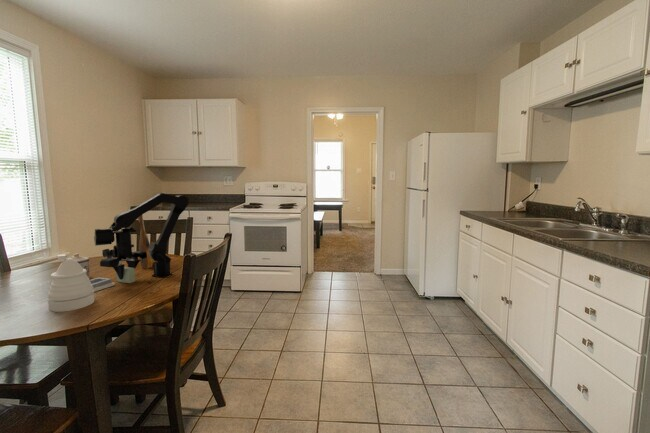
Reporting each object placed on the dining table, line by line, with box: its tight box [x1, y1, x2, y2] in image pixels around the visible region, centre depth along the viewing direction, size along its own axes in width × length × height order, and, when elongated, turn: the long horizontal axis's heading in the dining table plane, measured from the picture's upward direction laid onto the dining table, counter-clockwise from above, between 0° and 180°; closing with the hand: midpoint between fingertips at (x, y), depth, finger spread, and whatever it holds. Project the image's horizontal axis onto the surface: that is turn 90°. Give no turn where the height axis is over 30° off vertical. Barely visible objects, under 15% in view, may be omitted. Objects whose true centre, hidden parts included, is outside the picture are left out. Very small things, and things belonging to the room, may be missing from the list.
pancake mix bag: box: [137, 214, 154, 270], centre depth 166 cm, size 7×19×28 cm, turn 28°
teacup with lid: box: [69, 252, 91, 279], centre depth 144 cm, size 12×9×12 cm
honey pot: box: [47, 254, 95, 312], centre depth 114 cm, size 13×13×18 cm
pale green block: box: [115, 266, 136, 284], centre depth 141 cm, size 7×3×6 cm, turn 74°
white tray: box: [89, 276, 115, 293], centre depth 132 cm, size 10×12×2 cm
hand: (125, 277), depth 142 cm, fingers open, 4 cm apart
